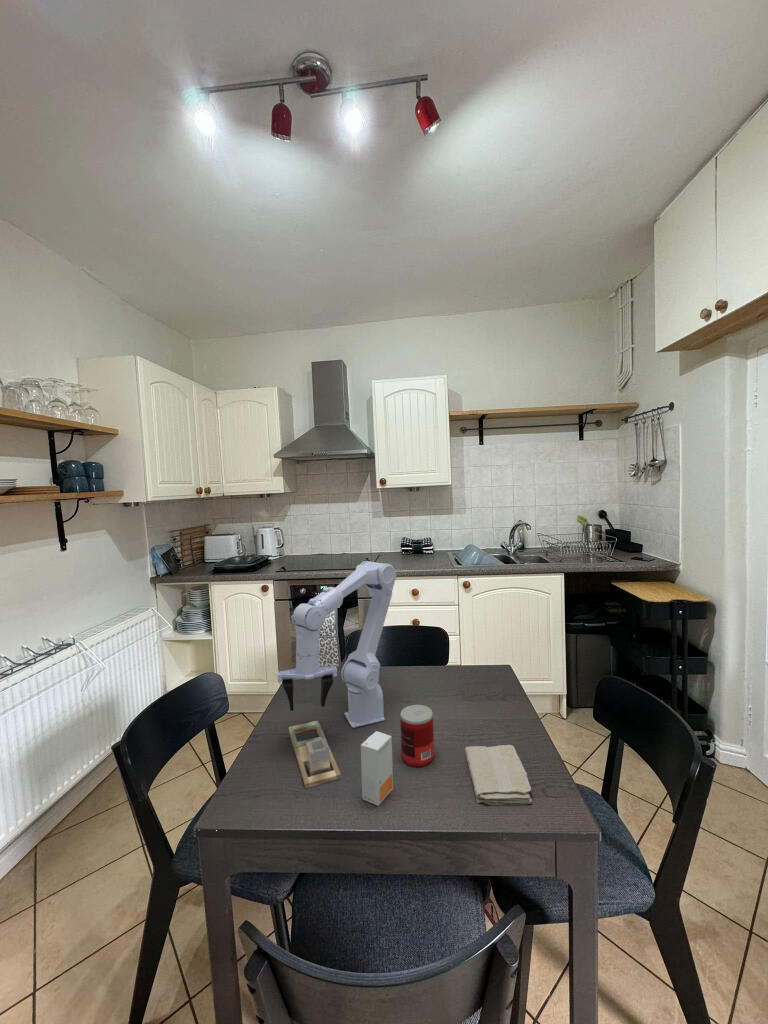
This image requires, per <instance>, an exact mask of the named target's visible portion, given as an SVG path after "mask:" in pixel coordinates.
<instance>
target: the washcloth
mask: <svg viewBox="0 0 768 1024" xmlns="http://www.w3.org/2000/svg"><path fill="white" fill-rule="evenodd" d="M463 752H464V754H465V759H466V763H467V765H468V766H467V767H468V770H469V774H470V779H471V781H472V784H473V785H472V786H473V789H474V794H475V795H474V797H475V799H476V800H475V801H476V803H477V804H482V803H483V804H485V805H495V806H496V805H498V806H500V805H529V804H532V803H533V801H532V800H533V799H532V798H531V793H530V792H531V791H532V786H531V785H530V782H529V778H528V774H527V771H526V770H525V768H524V766H523V763H522V760H521V758H520V756H519V755H518V754H517V750H516V749H515V746H514V745H512V744H506V745H504V744H501V745H496V746H485V745H484V746H483V745H482V746H481V745H480V746H479V745H478V746H477V745H475V746H472V745H471V746H466V747H464V751H463Z"/></svg>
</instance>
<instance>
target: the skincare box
mask: <svg viewBox="0 0 768 1024" xmlns="http://www.w3.org/2000/svg"><path fill="white" fill-rule="evenodd" d="M392 739H393V738H392V735H389V734H386V733H384V732H380V731H377V730H375V731H374V733H372V734H371V735H369V736H368V737H367V739H365V740H364V741H363V742H362V743H361V744H360V761H361V762H360V764H361V765H360V766H361V771H360V772H361V793H362V794H361V795H362V797H361V798H362V800H364V801H365V802H367V803H370V804H373V805H375V806H377V807H380V805H381V804H382V802H384V800H385V799H386V798H387V797H388V795H389V794H391V792H392V791H394V779H393V778H394V775H393V772H394V771H393V740H392Z"/></svg>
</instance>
